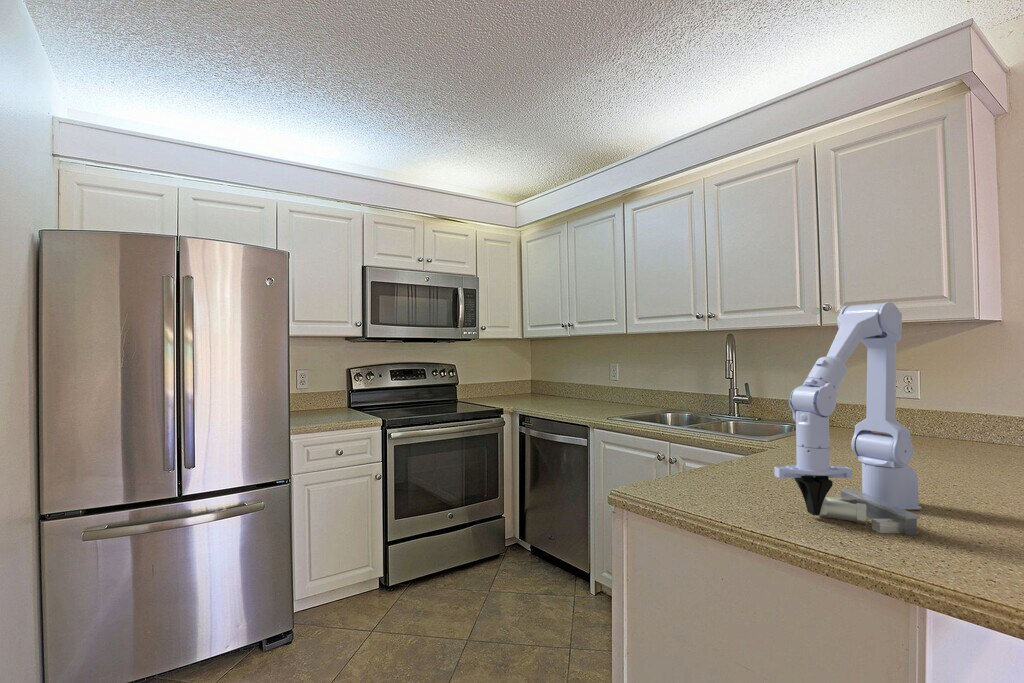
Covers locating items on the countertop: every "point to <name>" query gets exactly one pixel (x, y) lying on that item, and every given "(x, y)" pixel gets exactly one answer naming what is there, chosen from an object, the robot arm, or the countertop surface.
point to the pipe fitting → (843, 510)
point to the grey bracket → (882, 513)
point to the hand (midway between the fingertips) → (813, 513)
